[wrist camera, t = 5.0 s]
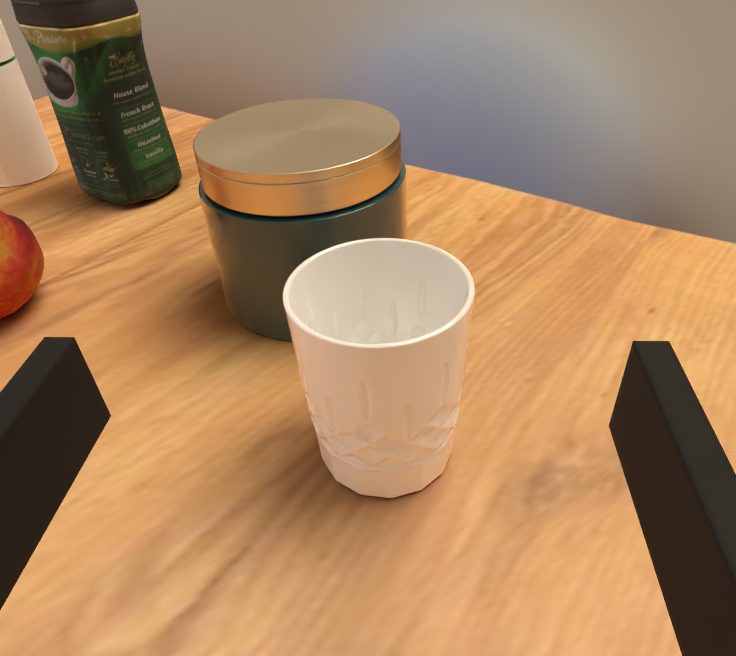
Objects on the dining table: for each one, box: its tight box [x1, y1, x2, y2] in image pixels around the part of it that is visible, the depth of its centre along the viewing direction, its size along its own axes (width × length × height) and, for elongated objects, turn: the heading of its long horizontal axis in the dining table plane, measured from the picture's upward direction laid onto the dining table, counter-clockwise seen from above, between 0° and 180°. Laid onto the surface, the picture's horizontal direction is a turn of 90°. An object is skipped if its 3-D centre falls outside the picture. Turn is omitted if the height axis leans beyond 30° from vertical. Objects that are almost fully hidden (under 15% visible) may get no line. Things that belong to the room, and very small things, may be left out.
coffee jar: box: [11, 0, 182, 204], centre depth 52 cm, size 10×8×19 cm
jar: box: [199, 159, 407, 341], centre depth 39 cm, size 13×13×10 cm
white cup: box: [283, 238, 475, 498], centre depth 28 cm, size 8×8×10 cm
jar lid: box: [193, 98, 401, 216], centre depth 36 cm, size 12×12×2 cm
